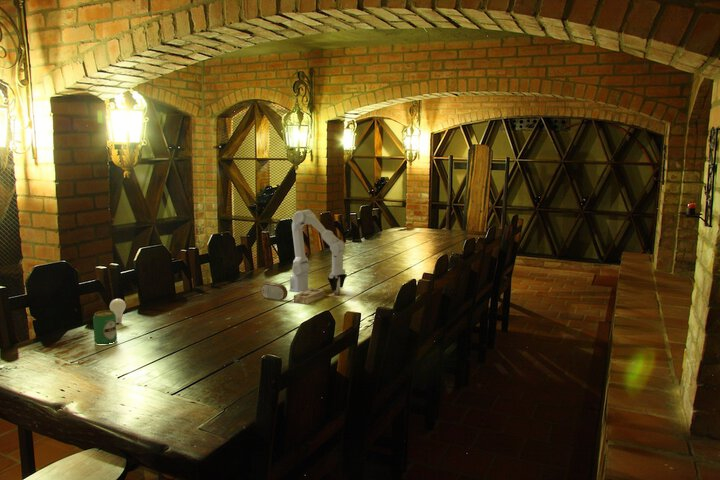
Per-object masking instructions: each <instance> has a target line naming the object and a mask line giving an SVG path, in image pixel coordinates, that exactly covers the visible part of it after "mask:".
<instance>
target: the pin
mask: <svg viewBox="0 0 720 480" xmlns="http://www.w3.org/2000/svg"><path fill="white" fill-rule="evenodd" d="M336 278H339V279H338V282H337V287H336V291H333V293H334V295H335V296H339V295H340V293H341V288H340V277H337V276H336Z"/></svg>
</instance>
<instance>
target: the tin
mask: <svg viewBox="0 0 720 480" xmlns="http://www.w3.org/2000/svg"><path fill="white" fill-rule="evenodd" d="M260 294H261V296H262V297H263V298H264V299H267V300H273V301H283V300H285V299H286V298H287V297H288V290H287V287H286V286H285V285H284V284H282V283H277V282H271V281H270V282H269V281H268V282H265V283H263V284H262V285H261V286H260Z"/></svg>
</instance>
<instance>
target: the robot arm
mask: <svg viewBox="0 0 720 480" xmlns="http://www.w3.org/2000/svg"><path fill="white" fill-rule="evenodd" d="M292 217H293V219H292V221H291V231H292V239H293V247H294V256H295V257H294V259H293V261H292V268H291V270H292V274H291V275H290V278H289V289H288V290H289V291H290V292H296V293H297V292H298V293H301V292H303V291H306V290H308V289H310V288H309V272H310V270H311V264H310V262H309V258H308V257H307V256H306V249H305V241H304V233H303V227H304V226H305V225H306V224H307V225H311V226H312V227H313V228H314V229H316V231H317V232H318V233H320V234H321V239H322V240H323V241H324V242H325V243H326V244H327V245H328V246H329V249H330V252H331V272H330V273H329V274H328V277H327V280H328V283H329V284H330V288H331V291H333V292H334V291H336V287H337V282H338V279H339V278H336V277H340V289H342V288H343V287H344V284H345V280H346V278H347V276H348V275H347V273H346V269H345V268H344V250H345V248H346V245H345V244H346V243H344V240H341V239H339V238H338V237H337V236H336V235H335V234H334V232H333V231H332V230H329V229H327V228H325V226H324V225H323V224H322V223H321V222H320V220H319V219H318V218H317V217H316V214H315V213H313V212H312V210H310V209H304V210H297V211H296V212H295V213H294V214H293V215H292Z"/></svg>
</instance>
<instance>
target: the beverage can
mask: <svg viewBox="0 0 720 480" xmlns="http://www.w3.org/2000/svg"><path fill="white" fill-rule="evenodd" d="M92 321H93V322H92V323H93V340H94V343H95V344H96V343H97V344H109V343H113V342H115V341H116V342H117V340H118V334H117V333H118V331H117V323H116V315H115V314H114V312H113V311H111V310H109V309H108V310H107V309H106V310H99V311H96V312H95V313H94V315H93V317H92ZM116 342H115V343H116Z"/></svg>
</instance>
